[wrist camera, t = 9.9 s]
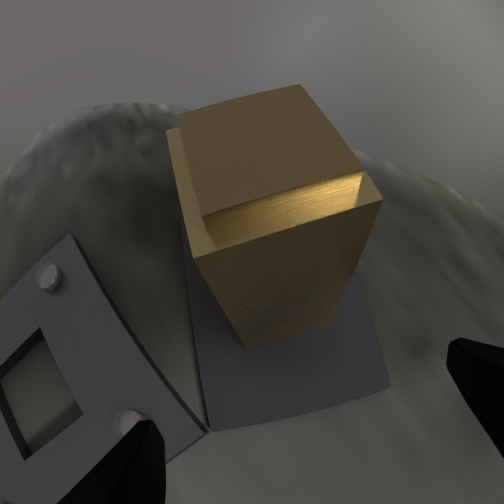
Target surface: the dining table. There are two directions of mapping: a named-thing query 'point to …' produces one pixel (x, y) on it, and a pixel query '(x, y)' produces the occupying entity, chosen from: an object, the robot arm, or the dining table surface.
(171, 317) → the dining table surface
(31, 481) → the square hole plate
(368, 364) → the rubber mat
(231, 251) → the stepped brass square peg
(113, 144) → the dining table surface
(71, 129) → the dining table surface
